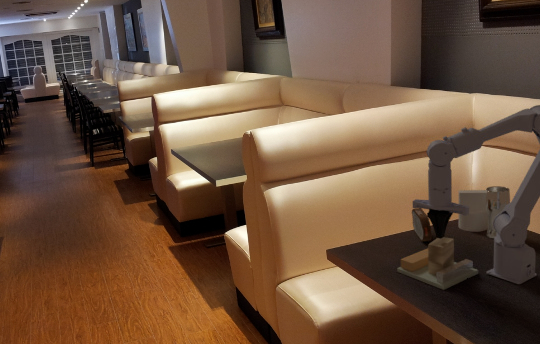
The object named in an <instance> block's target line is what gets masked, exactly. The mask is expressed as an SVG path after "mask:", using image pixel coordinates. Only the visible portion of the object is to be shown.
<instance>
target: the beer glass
mask: <svg viewBox="0 0 540 344" xmlns="http://www.w3.org/2000/svg"><path fill="white" fill-rule="evenodd" d="M485 190H486V198H485V207H486V214H487V219H488V229H486V237H487V238H490V239H493V240H494V238H495V237H496V235H497V231H496V230H495V229H494V227H493V221H494V218H495V217H496V216H497V215H498V214H499V213H501V212H502V211H503V209H504V208H505V206H506V205H508V204H509V203H511V195H510V188H509V187H506V186H501V185H496V186H488V187H486V188H485Z"/></svg>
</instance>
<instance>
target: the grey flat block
mask: <svg viewBox="0 0 540 344" xmlns="http://www.w3.org/2000/svg"><path fill="white" fill-rule="evenodd" d="M396 272H397V273H399V274H402V275H404V276H407V277H410V278H413V279H415V280H418V281H420V282H422V283H424V284H425V283H426V284H428V285H431V286H433V287H435V288H438V289H441V290H443V291H445V290H447V289H448V288H451V287H452V286H455V285H457V284H459V283H461V282H463V281H465V280H468V279H470V278H471V277H474V276H476V275H478V274H479V269H477V268H474V265H473V260H470V259H468V258H465V259H464V260H460V261H458V262H456V261H454V265H452V266H449V267H447V268H445V269H443V270H440V271H438V272H436V275H435V274H430V273H429V269H428V265H427V266H425V267H422V268H420V269H418V270H415V271H413V272H412V271H409V270H406V269H404V268H401V266H399V267H397V268H396ZM467 278H468V279H467Z"/></svg>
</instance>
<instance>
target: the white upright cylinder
mask: <svg viewBox="0 0 540 344" xmlns="http://www.w3.org/2000/svg"><path fill="white" fill-rule="evenodd" d="M485 198H486V189H481V190H480V189H477V190H476V189H471V190H470V189H466V190H465V189H464V190H463V189H461V190H460V189H459V190H458V204H460V205H464V206H469V214H468V215H466V216H465V215H462V214H458V228H459V229H460V230H462V231H466V232H471V233H472V232H473V233H476V232H477V233H478V232H479V233H480V232H483V231H487V229H488V219H487V214H486V207H485Z"/></svg>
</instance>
